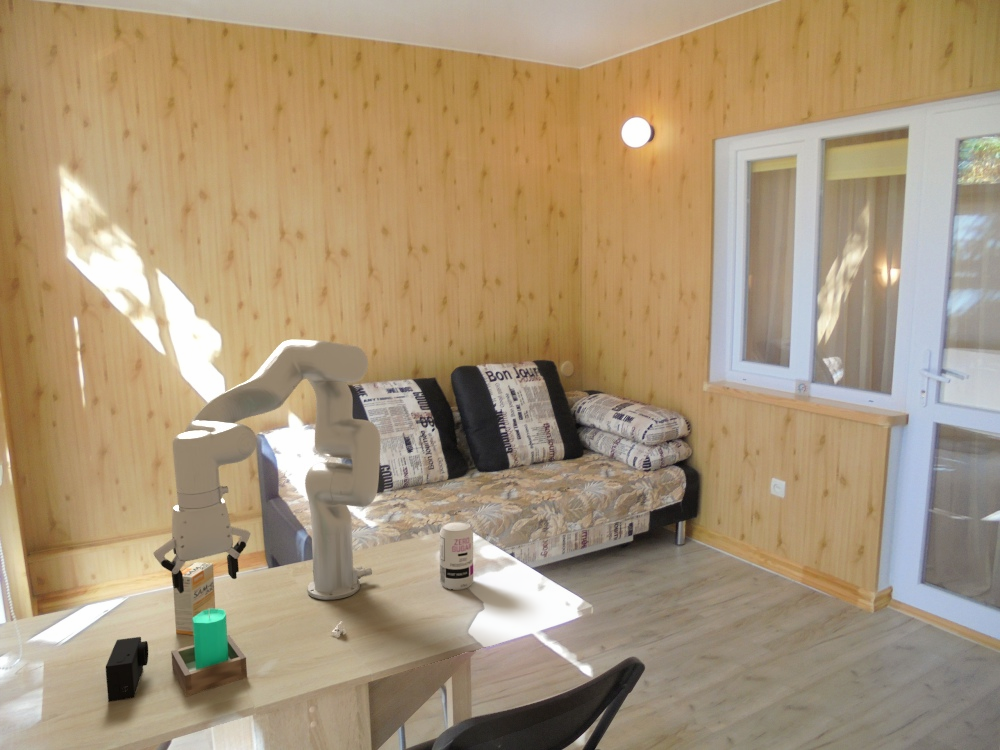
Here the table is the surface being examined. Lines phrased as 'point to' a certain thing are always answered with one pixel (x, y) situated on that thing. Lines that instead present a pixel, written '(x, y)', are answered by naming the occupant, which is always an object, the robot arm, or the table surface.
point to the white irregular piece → (338, 630)
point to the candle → (210, 638)
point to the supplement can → (456, 555)
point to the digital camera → (125, 668)
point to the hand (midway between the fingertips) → (206, 583)
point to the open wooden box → (207, 669)
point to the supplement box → (194, 595)
